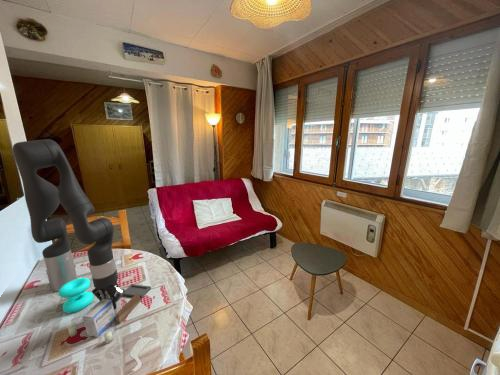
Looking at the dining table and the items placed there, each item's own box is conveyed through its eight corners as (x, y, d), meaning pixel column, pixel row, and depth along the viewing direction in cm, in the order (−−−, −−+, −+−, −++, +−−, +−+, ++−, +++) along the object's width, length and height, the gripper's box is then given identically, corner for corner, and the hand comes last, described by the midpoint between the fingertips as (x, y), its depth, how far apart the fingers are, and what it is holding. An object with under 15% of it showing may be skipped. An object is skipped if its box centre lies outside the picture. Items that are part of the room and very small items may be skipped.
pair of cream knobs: (68, 336, 70) (66, 329, 70) (74, 331, 72) (72, 324, 72) (109, 344, 67) (107, 337, 66) (114, 338, 69) (112, 331, 68)
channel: (94, 319, 77) (92, 310, 76) (117, 297, 87) (116, 290, 87) (120, 323, 75) (118, 314, 74) (140, 301, 85) (139, 293, 84)
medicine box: (98, 337, 69) (92, 317, 67) (87, 335, 70) (81, 316, 68) (116, 317, 77) (112, 299, 75) (106, 316, 78) (101, 298, 76)
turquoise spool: (52, 296, 76) (64, 279, 85) (58, 317, 78) (70, 299, 87) (84, 288, 79) (93, 274, 88) (89, 310, 81) (97, 293, 90)
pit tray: (122, 295, 89) (121, 293, 88) (132, 286, 95) (131, 284, 94) (141, 298, 87) (141, 296, 87) (150, 288, 93) (150, 286, 92)
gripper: (79, 276, 71) (89, 316, 75) (111, 279, 69) (119, 320, 73) (98, 263, 79) (106, 300, 83) (127, 266, 76) (134, 304, 80)
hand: (112, 310), depth 78 cm, fingers closed
